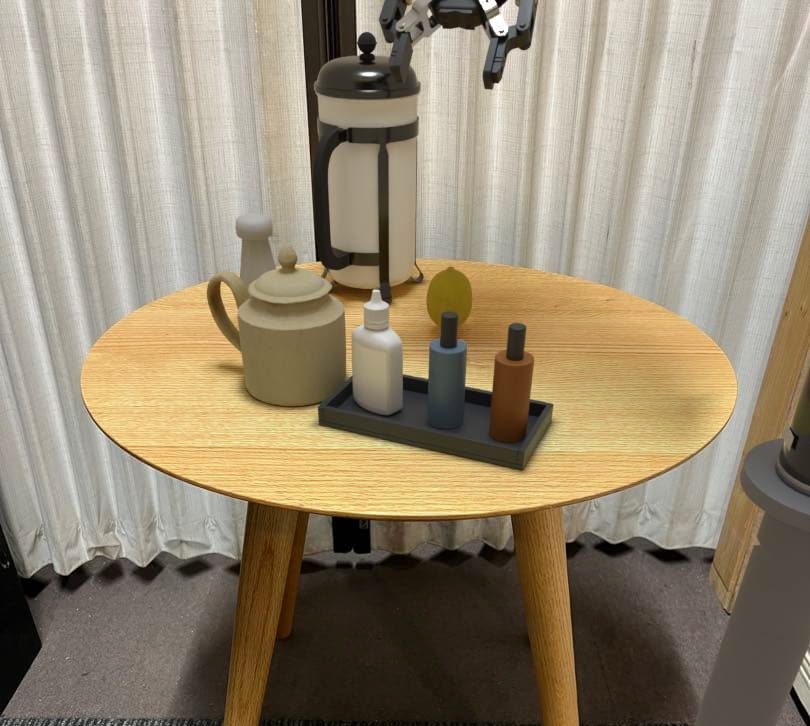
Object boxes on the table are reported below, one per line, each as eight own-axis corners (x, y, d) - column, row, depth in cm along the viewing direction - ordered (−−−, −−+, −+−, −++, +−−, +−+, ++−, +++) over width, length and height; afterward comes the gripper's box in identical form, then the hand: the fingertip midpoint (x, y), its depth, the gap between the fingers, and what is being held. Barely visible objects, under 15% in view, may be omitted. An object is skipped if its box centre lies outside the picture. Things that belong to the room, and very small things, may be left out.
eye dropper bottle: (363, 420, 82) (360, 303, 75) (350, 395, 86) (346, 282, 79) (405, 415, 83) (406, 299, 76) (390, 390, 87) (390, 278, 80)
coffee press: (301, 272, 118) (285, 26, 100) (410, 264, 121) (413, 24, 103) (321, 318, 104) (305, 43, 86) (442, 308, 108) (452, 40, 89)
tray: (551, 421, 83) (553, 403, 82) (522, 470, 76) (524, 451, 75) (362, 382, 90) (362, 365, 89) (318, 424, 83) (317, 406, 81)
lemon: (441, 344, 98) (443, 278, 94) (417, 328, 102) (418, 263, 97) (479, 335, 101) (483, 270, 96) (454, 320, 104) (457, 256, 100)
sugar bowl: (200, 407, 85) (177, 261, 76) (219, 361, 94) (201, 226, 85) (344, 407, 85) (338, 262, 76) (350, 362, 94) (345, 227, 85)
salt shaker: (296, 320, 104) (288, 213, 96) (267, 336, 100) (257, 225, 92) (260, 311, 106) (249, 205, 98) (230, 325, 102) (217, 217, 94)
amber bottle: (530, 429, 81) (542, 321, 75) (519, 446, 78) (531, 336, 72) (495, 421, 82) (504, 315, 76) (483, 438, 80) (492, 329, 73)
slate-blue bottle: (468, 416, 83) (474, 310, 77) (455, 432, 81) (461, 324, 74) (435, 409, 84) (438, 304, 78) (421, 424, 82) (424, 318, 75)
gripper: (400, -112, 76) (359, 47, 74) (553, -112, 72) (514, 55, 71) (416, -43, 83) (379, 103, 81) (557, -40, 80) (521, 113, 78)
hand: (442, 80), depth 76 cm, fingers open, 8 cm apart
